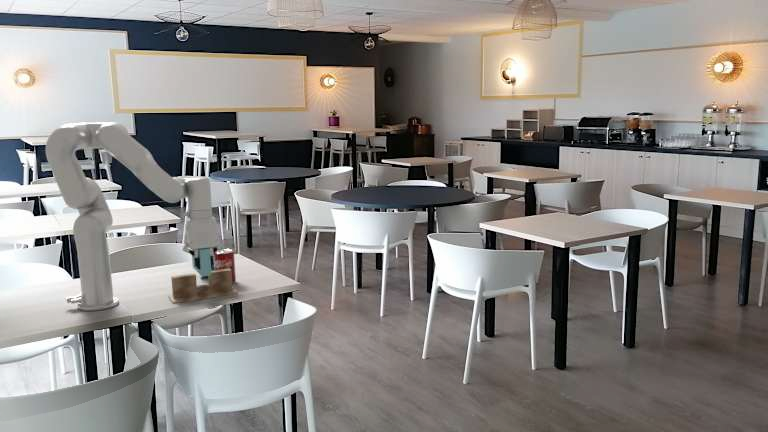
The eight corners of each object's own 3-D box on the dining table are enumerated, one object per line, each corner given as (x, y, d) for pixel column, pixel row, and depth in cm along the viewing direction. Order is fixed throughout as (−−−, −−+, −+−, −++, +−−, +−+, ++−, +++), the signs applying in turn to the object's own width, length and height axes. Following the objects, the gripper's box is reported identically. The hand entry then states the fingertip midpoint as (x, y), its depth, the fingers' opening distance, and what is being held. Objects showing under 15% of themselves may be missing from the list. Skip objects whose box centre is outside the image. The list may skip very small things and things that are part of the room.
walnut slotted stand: (172, 303, 221) (171, 280, 220) (168, 297, 228) (166, 274, 227) (237, 293, 231) (236, 271, 230) (231, 288, 238) (230, 266, 237)
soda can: (230, 286, 241) (228, 253, 239) (212, 285, 243) (210, 253, 240) (239, 280, 248) (237, 249, 246) (220, 279, 250) (219, 248, 247)
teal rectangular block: (201, 276, 221) (200, 250, 220) (192, 267, 234) (191, 242, 232) (211, 275, 223) (209, 248, 221) (201, 266, 235) (200, 241, 233)
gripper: (177, 218, 214) (181, 273, 217) (227, 213, 222) (231, 266, 225) (173, 215, 221) (177, 268, 224) (222, 210, 228) (225, 262, 232)
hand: (204, 267), depth 224 cm, fingers closed on teal rectangular block, 3 cm apart
